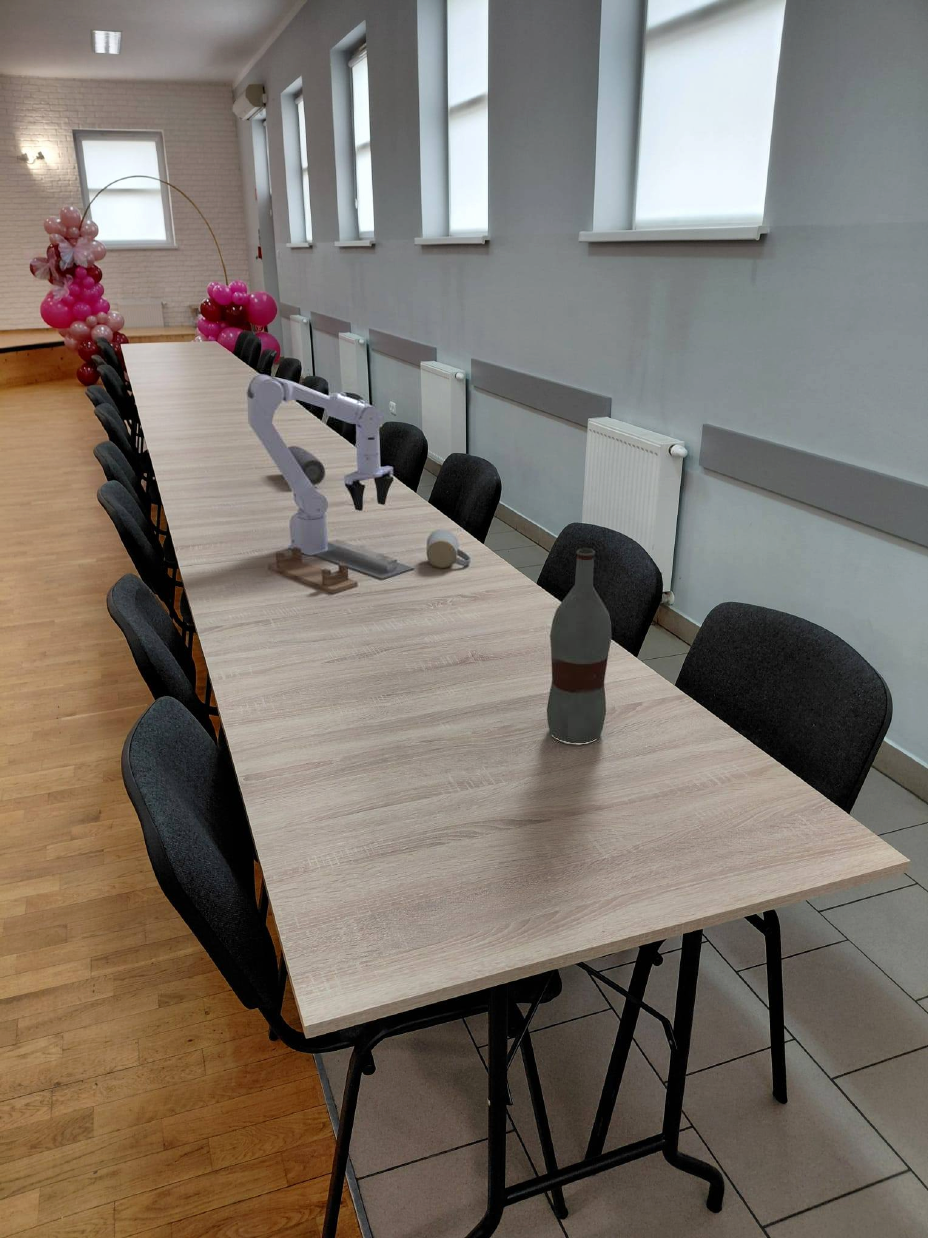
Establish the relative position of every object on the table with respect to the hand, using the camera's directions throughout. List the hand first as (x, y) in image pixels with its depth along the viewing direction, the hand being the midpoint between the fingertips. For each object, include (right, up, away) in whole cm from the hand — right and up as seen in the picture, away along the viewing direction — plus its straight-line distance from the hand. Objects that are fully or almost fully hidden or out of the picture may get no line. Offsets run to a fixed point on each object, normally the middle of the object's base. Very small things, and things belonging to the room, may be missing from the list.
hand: (370, 506), depth 228 cm
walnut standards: (-11, -19, -21) cm, 30 cm away
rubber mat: (-2, -14, -10) cm, 18 cm away
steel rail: (-1, -14, -11) cm, 18 cm away
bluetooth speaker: (-28, +16, +64) cm, 71 cm away
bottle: (+41, -47, -87) cm, 107 cm away
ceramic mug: (+20, -15, -11) cm, 28 cm away
